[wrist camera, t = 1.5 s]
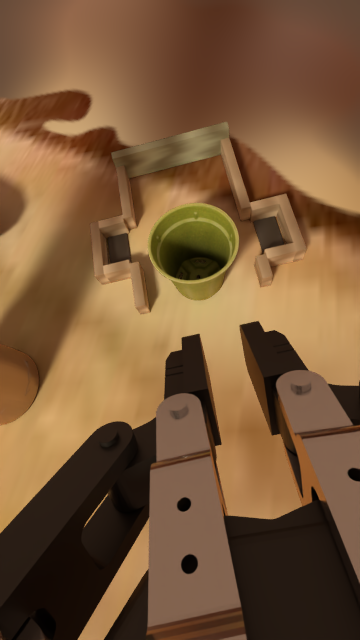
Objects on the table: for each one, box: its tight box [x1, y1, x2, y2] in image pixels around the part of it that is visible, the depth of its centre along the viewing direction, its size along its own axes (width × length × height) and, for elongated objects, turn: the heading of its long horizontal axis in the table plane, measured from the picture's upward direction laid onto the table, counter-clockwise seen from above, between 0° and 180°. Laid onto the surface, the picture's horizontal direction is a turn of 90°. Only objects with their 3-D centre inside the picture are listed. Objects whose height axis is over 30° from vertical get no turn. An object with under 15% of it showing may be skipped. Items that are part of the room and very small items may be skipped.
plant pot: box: [148, 203, 239, 300], centre depth 36 cm, size 9×9×9 cm
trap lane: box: [90, 122, 307, 314], centre depth 41 cm, size 26×23×4 cm
